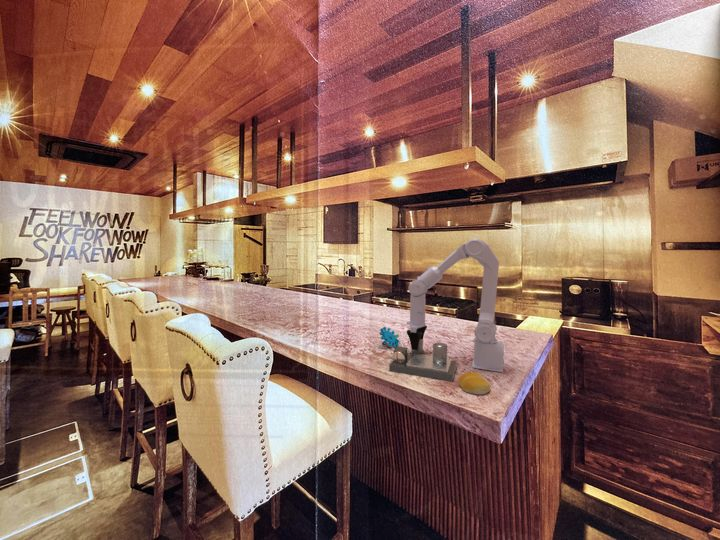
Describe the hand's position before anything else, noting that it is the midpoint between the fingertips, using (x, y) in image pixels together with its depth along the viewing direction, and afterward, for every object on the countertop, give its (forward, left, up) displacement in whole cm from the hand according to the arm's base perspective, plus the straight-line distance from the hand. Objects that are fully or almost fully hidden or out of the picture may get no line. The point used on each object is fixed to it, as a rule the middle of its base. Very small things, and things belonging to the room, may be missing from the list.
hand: (416, 346), depth 111 cm
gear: (+13, -6, -3) cm, 15 cm away
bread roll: (-21, +21, -4) cm, 30 cm away
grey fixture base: (-5, +13, -3) cm, 14 cm away
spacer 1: (0, 0, -3) cm, 3 cm away
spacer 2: (-10, +13, 0) cm, 17 cm away
